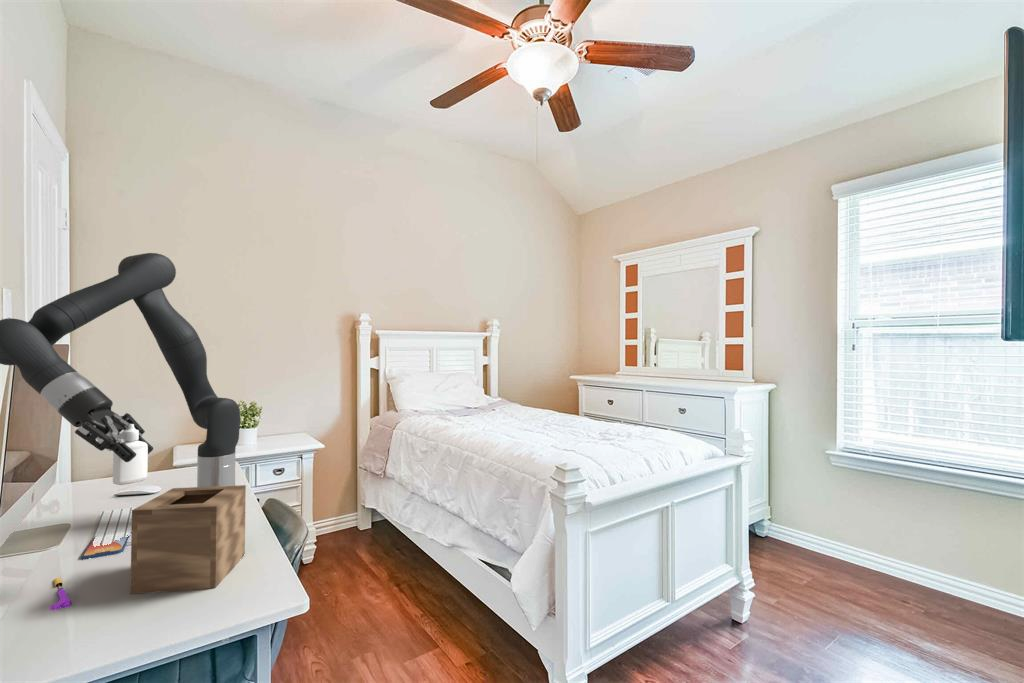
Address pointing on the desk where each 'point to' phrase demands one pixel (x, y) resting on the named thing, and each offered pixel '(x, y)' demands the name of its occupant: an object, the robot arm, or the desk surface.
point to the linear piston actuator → (61, 596)
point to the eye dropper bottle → (137, 465)
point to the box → (187, 538)
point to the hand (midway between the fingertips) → (140, 455)
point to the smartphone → (105, 548)
